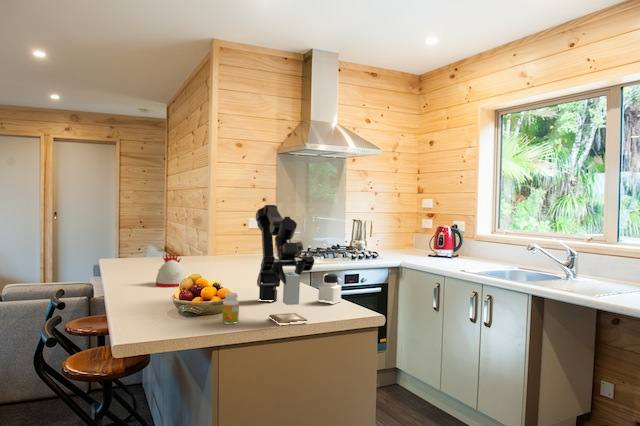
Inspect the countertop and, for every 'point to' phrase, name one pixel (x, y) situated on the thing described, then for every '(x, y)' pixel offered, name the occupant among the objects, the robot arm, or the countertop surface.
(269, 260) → the robot arm
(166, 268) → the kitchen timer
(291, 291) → the pillar
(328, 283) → the medicine bottle
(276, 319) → the pedestal
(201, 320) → the countertop surface
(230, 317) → the supplement bottle
